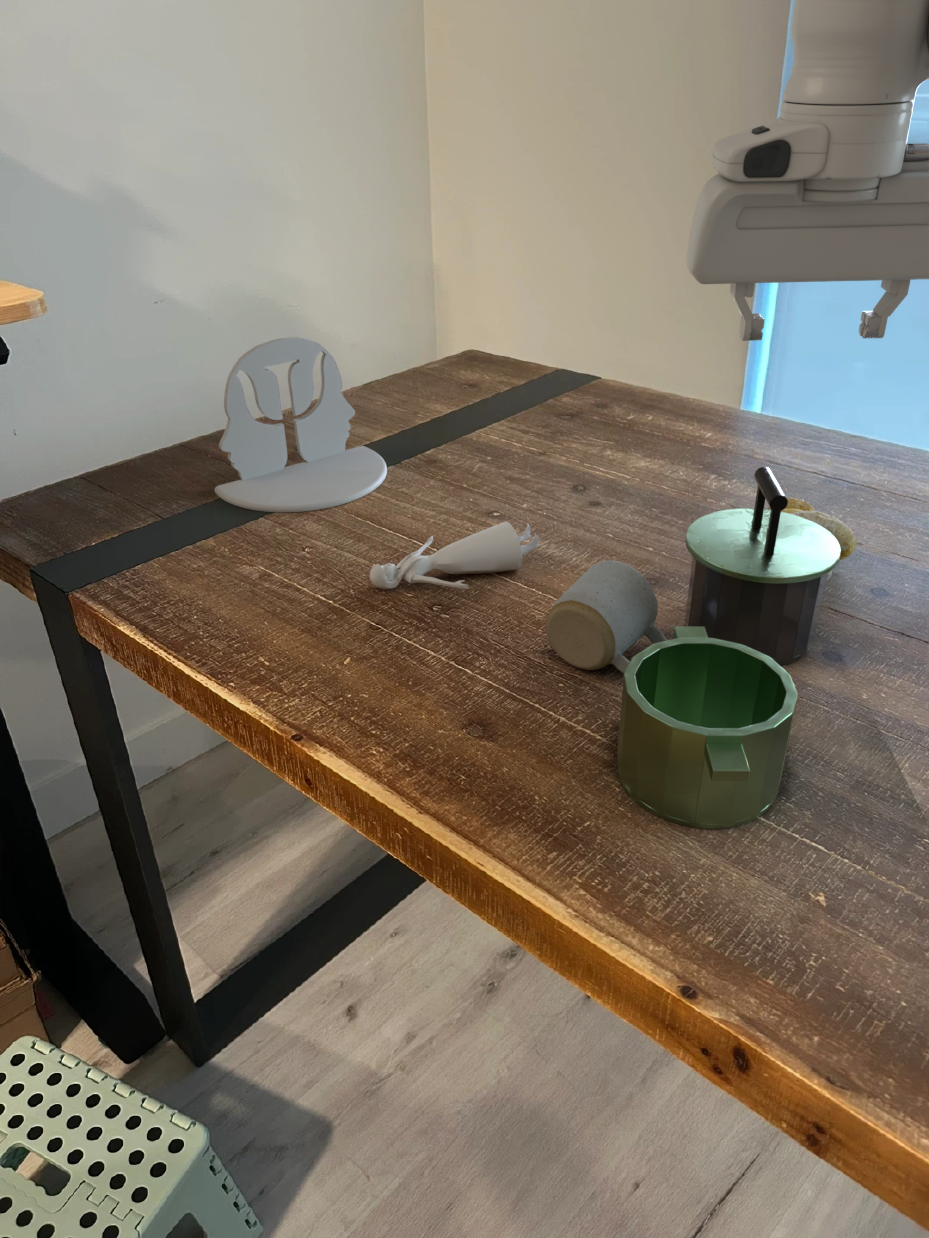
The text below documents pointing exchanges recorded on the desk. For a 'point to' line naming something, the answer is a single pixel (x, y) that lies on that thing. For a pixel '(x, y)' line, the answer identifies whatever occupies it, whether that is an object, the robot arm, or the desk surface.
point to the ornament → (318, 435)
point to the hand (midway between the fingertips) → (810, 338)
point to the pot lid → (763, 540)
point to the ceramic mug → (603, 617)
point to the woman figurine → (460, 558)
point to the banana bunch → (824, 525)
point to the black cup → (756, 612)
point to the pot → (704, 730)
